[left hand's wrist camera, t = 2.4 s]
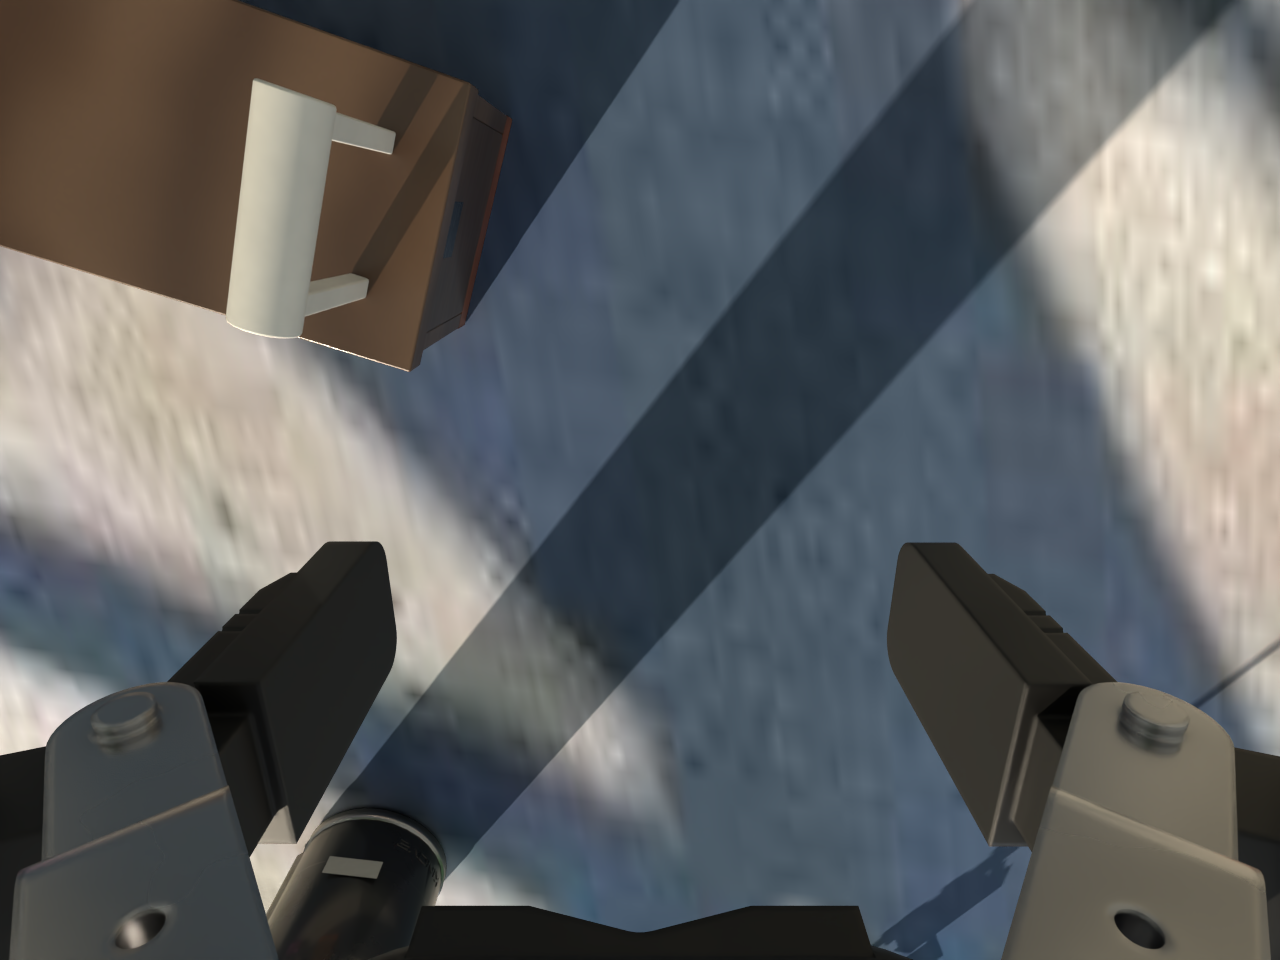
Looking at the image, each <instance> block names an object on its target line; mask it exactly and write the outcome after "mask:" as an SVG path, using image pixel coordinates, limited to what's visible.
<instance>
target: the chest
mask: <svg viewBox="0 0 1280 960" xmlns="http://www.w3.org/2000/svg"><path fill="white" fill-rule="evenodd" d="M511 123H512V119H511V118H510V117H508V116H507V115H505V114H503V113H502V112H501V111H499V110H498V109H497V108H495V107H494V106H493V105H491V104H490V103H488V102H487V101H486V100H484V99H483V98H482V97H480V96H479V95H478V97H477V101H476V106H475V111H474V115H473V120H472V125H471V129H470V134H469V139H468V143H467V148H466V152H465V157H464V162H463V166H462V171H461V176H460V180H459V185H458V190H457V194H456V199H455V204H454V208H453V213H452V218H451V222H450V227H449V232H448V236H447V241H446V246H445V250H444V255H443V259H442V264H441V269H440V273H439V278H438V283H437V287H436V292H435V297H434V301H433V306H432V311H431V315H430V320H429V325H428V329H427V334H426V339H425V343H424V348H423V350H424V349H426V348H428V347H429V346H431V345H432V344H434V343H435V342H437V341H439V340H440V339H442V338H443V337H445V336H446V335H448V334H450V333H451V332H453V331H454V330H456V329H457V328H458V329H459V328H460V327H462V326H463V325H465V321H466V317H467V312H468V308H469V304H470V299H471V295H472V291H473V287H474V282H475V278H476V274H477V269H478V265H479V261H480V256H481V252H482V248H483V244H484V239H485V235H486V231H487V226H488V222H489V218H490V213H491V209H492V205H493V201H494V196H495V192H496V188H497V183H498V179H499V175H500V170H501V166H502V162H503V158H504V153H505V149H506V145H507V140H508V136H509V132H510V127H511Z"/></svg>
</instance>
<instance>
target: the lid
mask: <svg viewBox="0 0 1280 960" xmlns="http://www.w3.org/2000/svg"><path fill="white" fill-rule="evenodd" d="M477 97H478V89H477V88H476V87H474V86H473V85H472V84H470V83H469V82H466V81H463V80H461V79H458V78H455V77H452V76H449V75H446V74H444V73H441V72H438V71H435V70H432V69H430V68H427V67H424V66H421V65H418V64H416V63H413V62H410V61H407V60H404V59H402V58H399V57H396V56H393V55H390V54H388V53H385V52H382V51H379V50H376V49H373V48H371V47H368V46H365V45H362V44H359V43H357V42H354V41H351V40H348V39H345V38H343V37H340V36H337V35H334V34H331V33H329V32H326V31H323V30H320V29H317V28H315V27H312V26H309V25H306V24H303V23H300V22H298V21H295V20H292V19H289V18H286V17H284V16H281V15H278V14H275V13H272V12H270V11H267V10H264V9H261V8H258V7H256V6H253V5H250V4H247V3H244V2H242V1H239V0H0V246H2V247H5V248H8V249H11V250H15V251H18V252H21V253H24V254H28V255H31V256H34V257H37V258H41V259H44V260H47V261H50V262H54V263H57V264H60V265H63V266H67V267H70V268H73V269H76V270H80V271H83V272H86V273H89V274H93V275H96V276H99V277H102V278H106V279H109V280H112V281H115V282H119V283H122V284H125V285H128V286H132V287H135V288H138V289H142V290H145V291H148V292H151V293H155V294H158V295H161V296H164V297H168V298H171V299H174V300H177V301H181V302H184V303H187V304H190V305H194V306H197V307H200V308H203V309H207V310H210V311H213V312H216V313H220V314H223V315H226V320H227V322H228V323H229V324H230V325H232V326H234V327H236V328H238V329H240V330H243V331H246V332H249V333H252V334H256V335H261V336H266V337H273V338H296V337H298V338H301V339H304V340H307V341H311V342H314V343H317V344H320V345H324V346H327V347H330V348H333V349H337V350H340V351H343V352H346V353H350V354H353V355H356V356H359V357H363V358H366V359H369V360H372V361H376V362H379V363H382V364H385V365H389V366H392V367H395V368H398V369H402V370H405V371H408V372H410V371H412V370H413V369H415V368H416V367H418V366H419V365H420V362H421V357H422V353H423V348H424V343H425V339H426V334H427V329H428V325H429V320H430V315H431V311H432V306H433V301H434V297H435V292H436V287H437V283H438V278H439V273H440V269H441V264H442V259H443V255H444V250H445V246H446V241H447V236H448V232H449V227H450V222H451V218H452V213H453V208H454V204H455V199H456V194H457V190H458V185H459V180H460V176H461V171H462V166H463V162H464V157H465V152H466V148H467V143H468V139H469V134H470V129H471V125H472V120H473V115H474V111H475V106H476V101H477Z"/></svg>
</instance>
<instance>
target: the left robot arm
mask: <svg viewBox="0 0 1280 960" xmlns="http://www.w3.org/2000/svg"><path fill="white" fill-rule="evenodd" d="M396 643H397V632H396V624H395V617H394V610H393V602H392V595H391V588H390V581H389V574H388V567H387V560H386V555H385V551H384V549H383V547H382V545H381V544H380V543H379V542H327V543H325V544H324V545H323V546H322V547H321V548H320V549H319V550H318V551H317V552H316V553H315V554H314V556H313V557H312V558H311V559H310V560H309V561H308V562H307V563H306V564H305V565H304V566H303V567H302V568H301V569H300V570H299V571H298V572H297V573H289V574H288V575H286V576H284V577H282V578H280V579H279V580H277V581H275V582H273V583H271V584H269V585H268V586H266V587H264V588H262V589H260V590H259V591H258V592H257V593H256V594H255V595H254V596H253V597H252V598H251V599H250V600H249V601H248V602H247V603H246V604H245V605H244V606H243V607H242V608H241V609H240V612H239V614H235V615H234V616H233V617H232V618H231V619H230V620H229V621H228V622H227V623H226V624H225V625H224V626H223V629H222V631H218V632H217V633H216V634H215V635H214V636H213V637H212V638H211V639H210V640H209V641H208V642H207V643H206V644H205V645H204V646H203V647H202V648H201V649H200V650H199V651H198V652H197V653H196V654H195V655H194V656H193V657H192V658H191V659H190V660H189V661H188V662H187V663H186V664H185V665H184V666H183V667H182V668H181V669H180V670H179V671H178V672H177V673H176V674H175V675H174V676H173V677H172V678H171V679H170V680H169V681H168V682H160V683H151V684H145V685H140V686H136V687H132V688H129V689H125V690H122V691H119V692H116V693H113V694H111V695H108V696H106V697H104V698H101V699H99V700H97V701H95V702H93V703H91V704H89V705H87V706H86V707H84V708H82V709H81V710H79V711H78V712H76V713H75V714H73V715H72V716H71V717H69V718H68V719H67V720H65V721H64V722H63V723H62V724H61V725H60V726H59V727H58V728H57V729H56V730H55V731H54V733H53V734H52V735H51V736H50V738H49V740H48V742H47V745H46V747H41V748H36V749H31V750H26V751H21V752H16V753H11V754H5V755H0V960H912V959H910V958H907V957H904V956H902V955H899V954H896V953H893V952H891V951H888V950H885V949H882V948H878V947H874V946H871V945H870V942H869V938H868V935H867V932H866V929H865V926H864V923H863V919H862V916H861V913H860V910H859V907H858V906H749V907H745V908H741V909H737V910H733V911H729V912H725V913H721V914H717V915H713V916H709V917H705V918H702V919H698V920H694V921H690V922H686V923H682V924H678V925H674V926H670V927H666V928H662V929H659V930H655V931H650V932H630V931H625V930H621V929H618V928H614V927H610V926H606V925H602V924H598V923H594V922H590V921H586V920H582V919H578V918H575V917H571V916H567V915H563V914H559V913H555V912H551V911H547V910H543V909H539V908H535V907H531V906H435V904H436V901H437V897H438V895H439V894H440V891H441V889H442V886H443V882H444V879H445V875H446V858H445V855H444V852H443V849H442V847H441V845H440V844H439V842H438V841H437V839H436V838H435V837H434V836H433V835H432V834H431V833H430V832H429V831H428V830H427V829H426V828H425V827H423V826H422V825H421V824H419V823H418V822H416V821H414V820H412V819H410V818H408V817H406V816H404V815H401V814H398V813H395V812H391V811H387V810H382V809H369V808H365V809H354V810H349V811H345V812H342V813H339V814H336V815H334V816H332V817H330V818H328V819H327V820H325V821H324V822H323V823H322V824H320V825H319V826H318V827H317V828H316V830H315V831H314V832H313V834H312V836H311V838H310V839H309V841H308V843H307V845H306V847H305V849H304V852H303V853H302V854H300V855H298V856H297V857H296V859H295V861H294V863H293V865H292V867H291V868H290V870H289V872H288V874H287V876H286V878H285V880H284V882H283V883H282V885H281V887H280V889H279V891H278V893H277V895H276V897H275V898H274V900H273V902H272V904H271V906H270V908H269V910H268V912H267V913H265V910H264V907H263V903H262V900H261V896H260V893H259V889H258V886H257V882H256V879H255V875H254V872H253V868H252V865H251V861H250V858H249V857H250V856H251V854H252V852H253V851H254V849H255V848H256V846H257V844H297V842H298V840H299V838H300V836H301V834H302V833H303V831H304V829H305V827H306V825H307V823H308V822H309V820H310V818H311V816H312V814H313V812H314V810H315V809H316V807H317V805H318V803H319V801H320V799H321V798H322V796H323V794H324V792H325V790H326V788H327V787H328V785H329V783H330V781H331V779H332V777H333V776H334V774H335V772H336V770H337V768H338V766H339V765H340V763H341V761H342V759H343V757H344V755H345V753H346V752H347V750H348V748H349V746H350V744H351V742H352V741H353V739H354V737H355V735H356V733H357V731H358V730H359V728H360V726H361V724H362V722H363V720H364V719H365V717H366V715H367V713H368V711H369V709H370V708H371V706H372V704H373V702H374V700H375V698H376V696H377V695H378V693H379V691H380V689H381V687H382V685H383V684H384V682H385V680H386V678H387V676H388V674H389V673H390V670H391V668H392V665H393V662H394V658H395V653H396ZM887 648H888V656H889V661H890V664H891V667H892V670H893V672H894V674H895V676H896V678H897V680H898V682H899V683H900V685H901V687H902V689H903V691H904V692H905V694H906V696H907V698H908V700H909V701H910V703H911V705H912V707H913V709H914V711H915V712H916V714H917V716H918V718H919V720H920V721H921V723H922V725H923V727H924V729H925V731H926V732H927V734H928V736H929V738H930V740H931V741H932V743H933V745H934V747H935V749H936V751H937V752H938V754H939V756H940V758H941V760H942V761H943V763H944V765H945V767H946V769H947V771H948V772H949V774H950V776H951V778H952V780H953V781H954V783H955V785H956V787H957V789H958V791H959V792H960V794H961V796H962V798H963V800H964V801H965V803H966V805H967V807H968V809H969V810H970V812H971V814H972V816H973V818H974V820H975V821H976V823H977V825H978V827H979V829H980V830H981V832H982V834H983V836H984V838H985V840H986V841H987V843H988V845H989V846H1028V847H1029V848H1030V850H1031V852H1032V854H1031V858H1030V861H1029V865H1028V868H1027V872H1026V875H1025V879H1024V882H1023V886H1022V889H1021V893H1020V896H1019V900H1018V903H1017V907H1016V910H1015V913H1014V917H1013V920H1012V924H1011V927H1010V931H1009V934H1008V938H1007V941H1006V945H1005V948H1004V952H1003V955H1002V959H1001V960H1280V757H1279V756H1274V755H1269V754H1264V753H1259V752H1254V751H1249V750H1244V749H1239V748H1235V747H1234V745H1233V742H1232V740H1231V738H1230V736H1229V735H1228V734H1227V733H1226V731H1225V730H1224V729H1223V728H1222V727H1221V726H1220V725H1219V724H1218V723H1217V722H1216V721H1215V720H1213V719H1212V718H1211V717H1209V716H1208V715H1207V714H1205V713H1204V712H1202V711H1201V710H1199V709H1198V708H1196V707H1194V706H1193V705H1191V704H1189V703H1187V702H1185V701H1183V700H1181V699H1179V698H1176V697H1174V696H1172V695H1169V694H1167V693H1164V692H1161V691H1158V690H1155V689H1151V688H1148V687H1144V686H1140V685H1135V684H1129V683H1120V682H1117V681H1116V680H1115V679H1114V678H1113V677H1112V676H1111V675H1110V674H1109V673H1108V672H1107V671H1106V670H1105V669H1104V668H1103V667H1102V666H1100V665H1099V664H1098V663H1097V662H1096V661H1095V660H1094V659H1093V658H1092V657H1091V656H1090V655H1089V654H1088V653H1087V652H1086V651H1085V650H1084V649H1083V648H1082V647H1081V646H1080V645H1079V644H1078V643H1077V642H1076V641H1075V640H1074V639H1073V638H1072V637H1071V636H1070V635H1069V634H1068V633H1063V628H1062V627H1061V626H1060V625H1059V624H1058V623H1057V622H1056V621H1055V620H1054V619H1053V618H1052V617H1051V616H1046V611H1045V610H1044V609H1043V608H1042V607H1041V606H1040V605H1039V604H1038V603H1037V602H1036V601H1035V600H1033V599H1032V598H1031V597H1030V596H1029V595H1028V594H1027V593H1026V592H1025V591H1024V590H1022V589H1020V588H1018V587H1017V586H1015V585H1013V584H1011V583H1009V582H1007V581H1006V580H1004V579H1002V578H1000V577H998V576H997V575H995V574H987V573H986V572H985V571H984V570H983V569H982V568H981V567H980V566H979V564H978V563H977V562H976V561H975V560H974V559H973V558H972V557H971V556H970V555H969V554H968V553H967V552H966V551H965V550H964V549H963V548H962V547H961V546H960V545H959V544H957V543H905V544H904V545H903V546H902V548H901V550H900V552H899V556H898V561H897V567H896V574H895V581H894V588H893V595H892V602H891V609H890V616H889V623H888V631H887Z"/></svg>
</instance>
